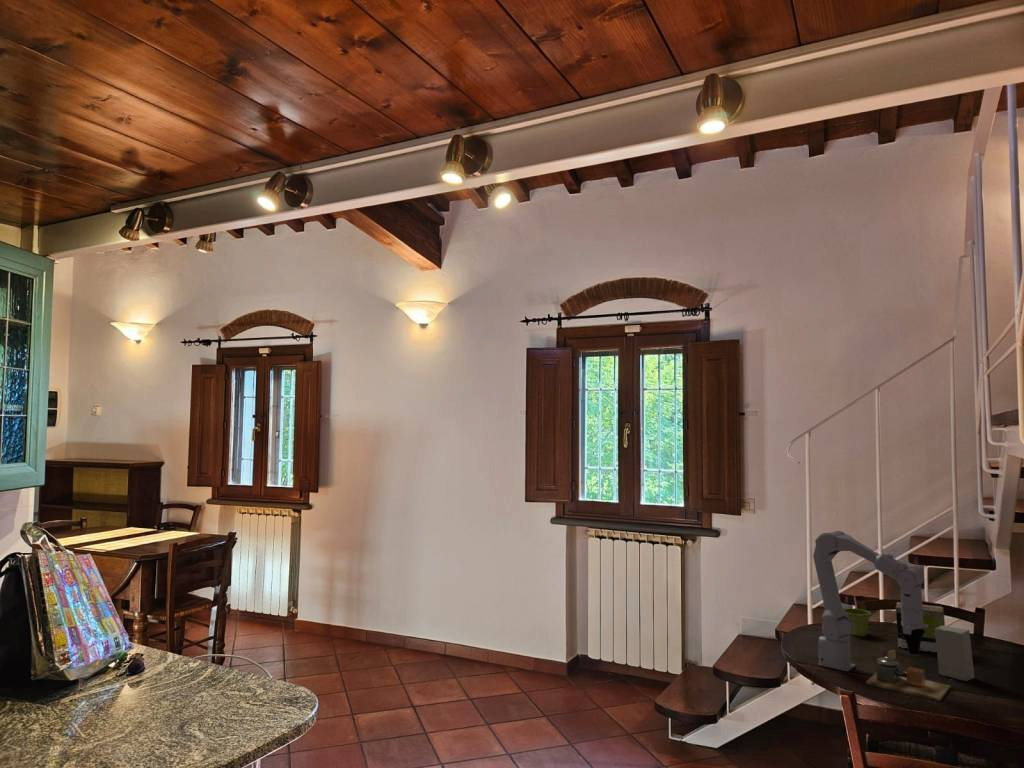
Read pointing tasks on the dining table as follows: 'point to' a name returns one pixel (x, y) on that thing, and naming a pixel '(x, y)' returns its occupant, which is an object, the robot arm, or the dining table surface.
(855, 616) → the plant pot
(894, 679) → the eye block
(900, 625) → the tea box
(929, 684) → the oak board
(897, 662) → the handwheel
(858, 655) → the dining table surface
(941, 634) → the skincare box
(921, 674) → the brown blocky piece
